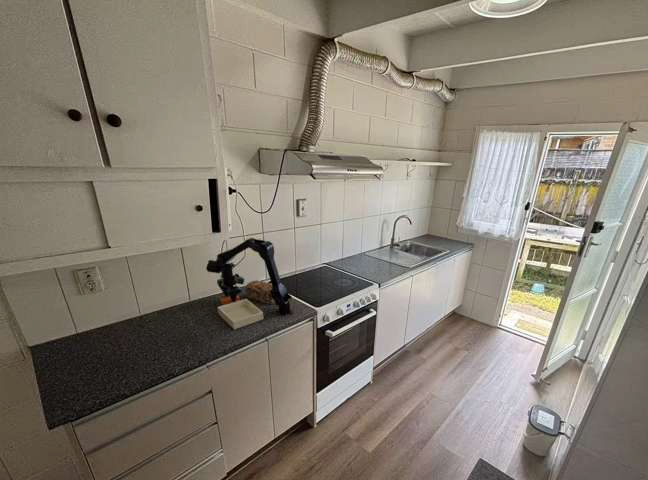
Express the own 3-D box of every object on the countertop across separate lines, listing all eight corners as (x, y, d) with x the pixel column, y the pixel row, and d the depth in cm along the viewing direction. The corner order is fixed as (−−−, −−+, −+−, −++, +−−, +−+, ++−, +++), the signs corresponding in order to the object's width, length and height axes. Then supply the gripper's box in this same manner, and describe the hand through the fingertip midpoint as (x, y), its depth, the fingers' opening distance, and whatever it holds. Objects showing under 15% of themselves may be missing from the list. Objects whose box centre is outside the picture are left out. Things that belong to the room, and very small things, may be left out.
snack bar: (240, 303, 170) (239, 297, 168) (224, 307, 164) (223, 301, 162) (237, 300, 173) (236, 294, 171) (221, 305, 167) (220, 298, 165)
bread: (245, 298, 175) (244, 283, 171) (257, 292, 184) (256, 277, 180) (271, 305, 169) (270, 290, 165) (283, 298, 178) (282, 283, 174)
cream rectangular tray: (263, 319, 155) (263, 312, 153) (234, 330, 145) (233, 322, 143) (246, 305, 168) (246, 298, 166) (218, 314, 157) (217, 306, 155)
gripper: (249, 276, 160) (251, 301, 167) (234, 266, 172) (237, 290, 179) (228, 281, 153) (232, 307, 159) (214, 270, 165) (218, 295, 171)
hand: (230, 299), depth 167 cm, fingers open, 9 cm apart
